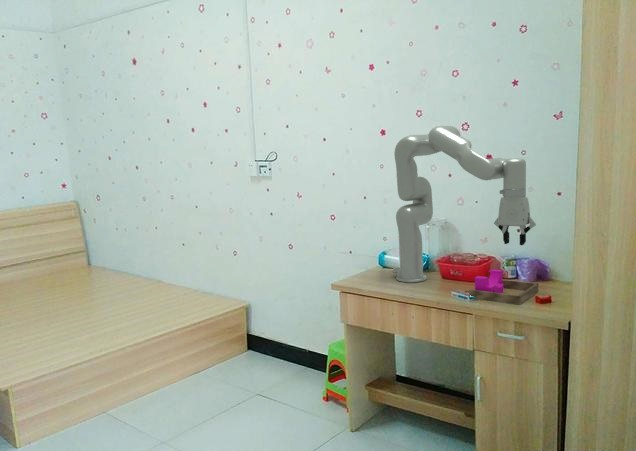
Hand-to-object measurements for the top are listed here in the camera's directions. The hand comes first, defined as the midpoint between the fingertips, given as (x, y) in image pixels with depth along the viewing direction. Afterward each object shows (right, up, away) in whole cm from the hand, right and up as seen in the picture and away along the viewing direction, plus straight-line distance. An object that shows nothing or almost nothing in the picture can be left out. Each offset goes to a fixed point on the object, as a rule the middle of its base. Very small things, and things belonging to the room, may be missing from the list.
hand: (514, 243), depth 200 cm
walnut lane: (-2, -19, +5) cm, 20 cm away
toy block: (-6, -19, +8) cm, 21 cm away
